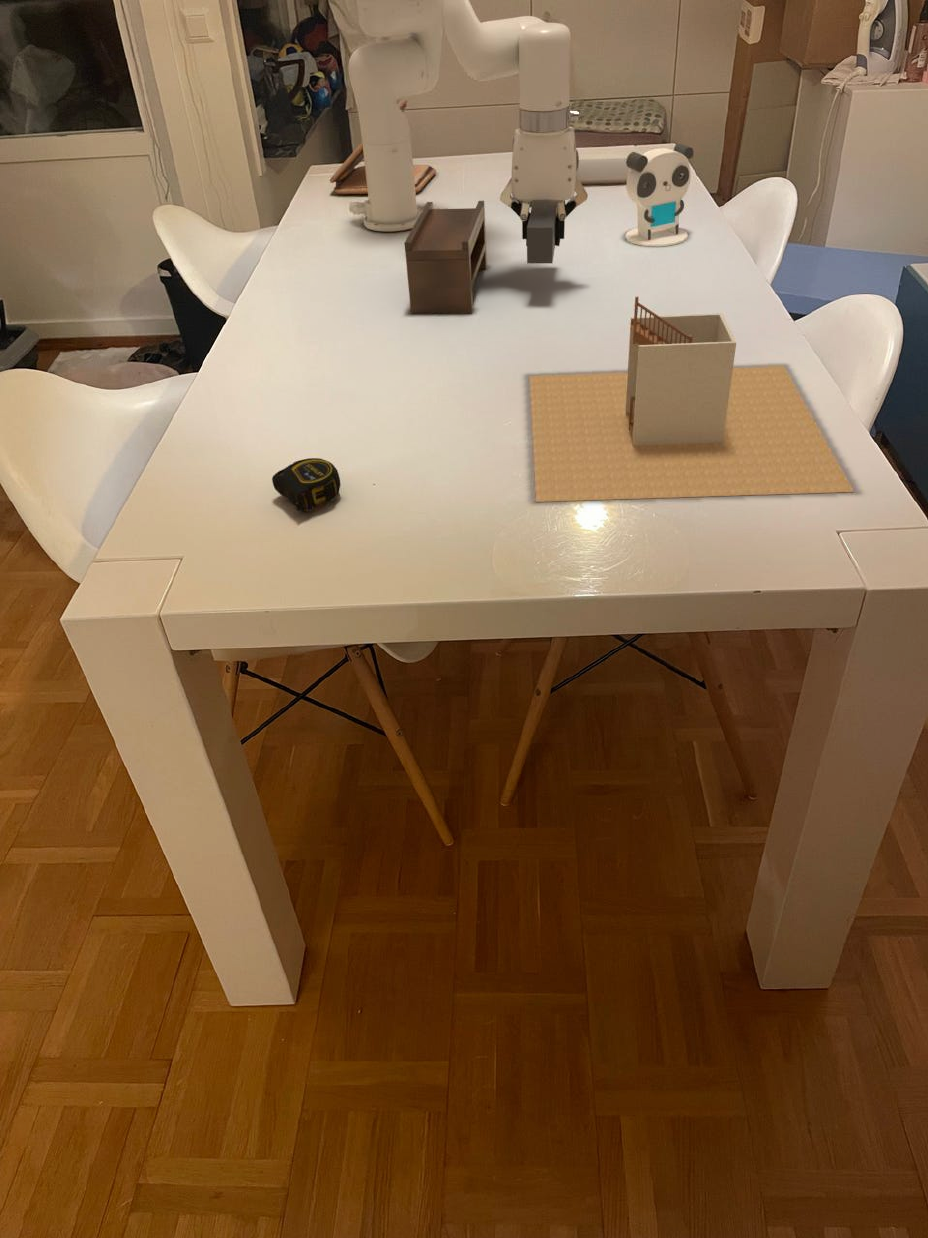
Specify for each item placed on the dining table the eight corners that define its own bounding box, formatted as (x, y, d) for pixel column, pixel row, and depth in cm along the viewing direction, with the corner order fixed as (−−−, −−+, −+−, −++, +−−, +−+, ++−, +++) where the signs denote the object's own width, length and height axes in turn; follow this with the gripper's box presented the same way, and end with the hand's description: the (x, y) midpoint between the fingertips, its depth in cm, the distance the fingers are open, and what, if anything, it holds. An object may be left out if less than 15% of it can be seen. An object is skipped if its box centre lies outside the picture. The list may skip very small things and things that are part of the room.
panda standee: (642, 250, 167) (647, 160, 157) (611, 234, 175) (615, 147, 165) (699, 239, 170) (708, 150, 160) (666, 223, 178) (673, 138, 169)
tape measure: (273, 496, 108) (267, 468, 105) (325, 477, 110) (320, 449, 108) (299, 521, 103) (293, 493, 101) (352, 500, 106) (348, 472, 104)
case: (354, 172, 222) (345, 97, 212) (439, 171, 218) (433, 95, 208) (328, 196, 207) (316, 116, 197) (418, 196, 203) (411, 115, 193)
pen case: (526, 263, 145) (526, 227, 142) (534, 226, 159) (534, 192, 155) (552, 263, 145) (553, 227, 141) (558, 226, 158) (559, 192, 155)
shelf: (411, 313, 150) (404, 242, 143) (432, 267, 166) (426, 201, 159) (472, 313, 148) (468, 241, 141) (487, 266, 165) (484, 200, 158)
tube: (680, 156, 201) (565, 159, 203) (683, 154, 196) (565, 157, 198) (678, 183, 203) (564, 186, 205) (681, 181, 198) (564, 184, 200)
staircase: (624, 412, 119) (631, 283, 108) (710, 409, 118) (726, 279, 108) (631, 445, 112) (640, 311, 102) (722, 442, 111) (741, 307, 101)
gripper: (600, 112, 142) (594, 235, 154) (492, 115, 144) (495, 236, 156) (599, 124, 136) (594, 250, 148) (486, 127, 138) (490, 251, 150)
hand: (543, 242), depth 152 cm, fingers closed on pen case, 4 cm apart
